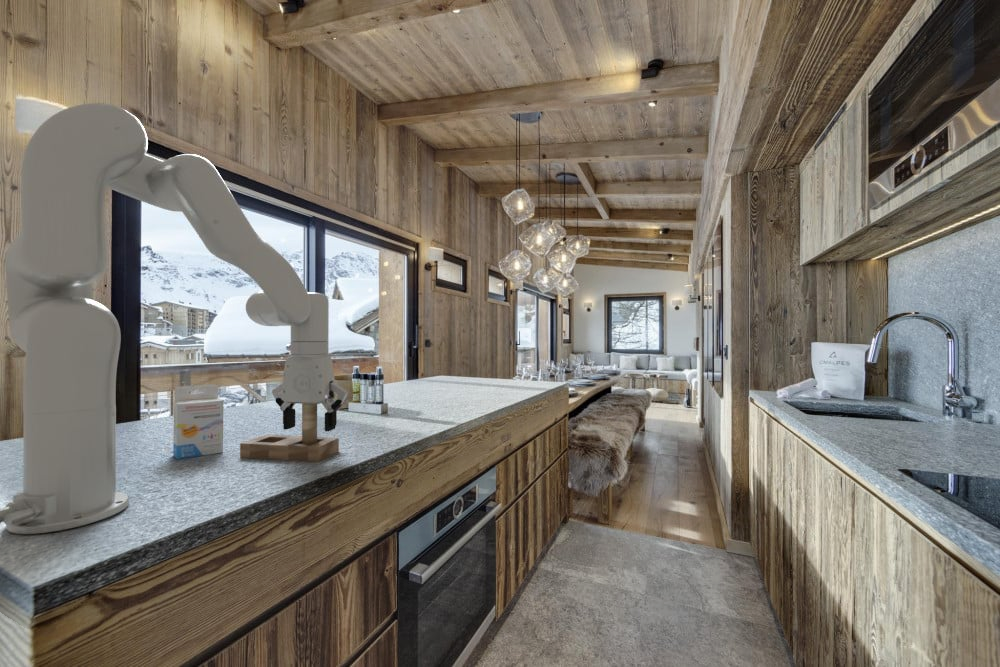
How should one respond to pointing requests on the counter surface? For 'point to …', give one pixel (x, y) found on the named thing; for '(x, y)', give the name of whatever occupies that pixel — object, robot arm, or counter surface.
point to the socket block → (288, 448)
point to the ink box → (197, 422)
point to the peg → (309, 424)
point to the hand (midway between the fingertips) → (309, 429)
